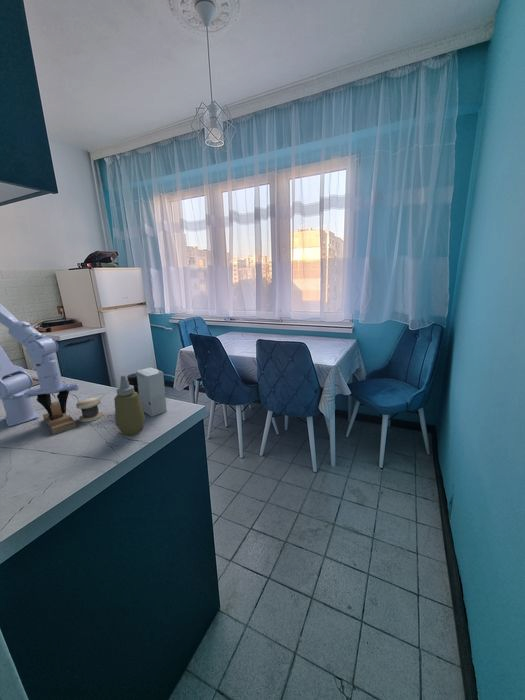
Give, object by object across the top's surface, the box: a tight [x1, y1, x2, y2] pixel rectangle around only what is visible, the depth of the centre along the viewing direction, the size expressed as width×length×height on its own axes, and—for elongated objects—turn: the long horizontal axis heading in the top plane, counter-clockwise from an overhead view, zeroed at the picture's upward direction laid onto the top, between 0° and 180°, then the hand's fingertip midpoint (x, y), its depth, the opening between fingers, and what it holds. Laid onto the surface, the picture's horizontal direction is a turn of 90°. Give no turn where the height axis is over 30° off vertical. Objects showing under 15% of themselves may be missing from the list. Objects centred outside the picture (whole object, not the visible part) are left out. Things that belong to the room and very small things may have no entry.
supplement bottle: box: [126, 373, 139, 395], centre depth 104 cm, size 7×7×12 cm
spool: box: [75, 397, 104, 423], centre depth 98 cm, size 7×7×6 cm
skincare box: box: [136, 366, 168, 417], centre depth 100 cm, size 8×6×15 cm
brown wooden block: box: [50, 400, 67, 420], centre depth 96 cm, size 3×3×6 cm
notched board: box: [42, 412, 77, 435], centre depth 95 cm, size 14×6×2 cm, turn 46°
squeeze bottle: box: [113, 374, 146, 437], centre depth 86 cm, size 8×8×18 cm
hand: (58, 413), depth 96 cm, fingers closed on brown wooden block, 3 cm apart
